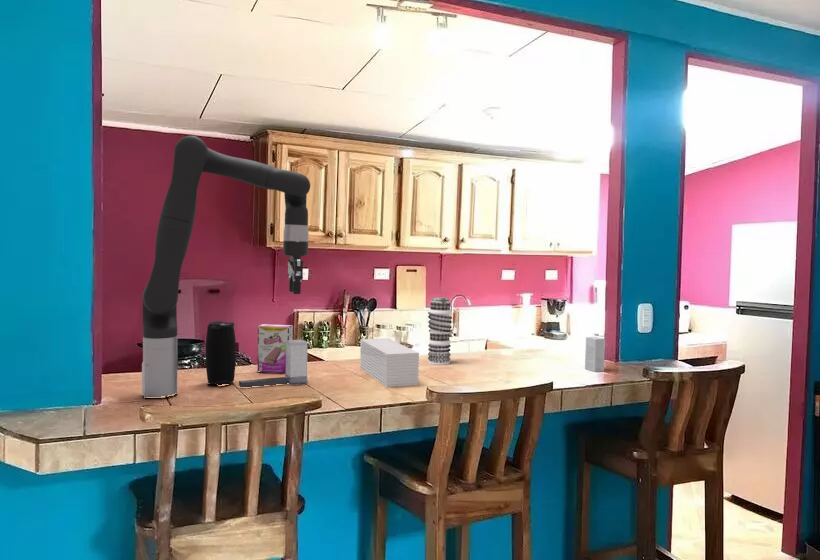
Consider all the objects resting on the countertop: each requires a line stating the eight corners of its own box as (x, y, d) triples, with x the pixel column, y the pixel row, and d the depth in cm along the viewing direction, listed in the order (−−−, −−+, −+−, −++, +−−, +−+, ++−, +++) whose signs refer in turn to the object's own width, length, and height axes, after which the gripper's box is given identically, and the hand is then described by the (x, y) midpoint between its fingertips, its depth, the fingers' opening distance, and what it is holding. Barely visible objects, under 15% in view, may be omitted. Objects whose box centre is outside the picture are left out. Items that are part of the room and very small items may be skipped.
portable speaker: (240, 382, 203) (241, 321, 202) (223, 388, 194) (223, 324, 193) (217, 379, 206) (218, 319, 205) (199, 385, 197) (199, 323, 196)
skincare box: (604, 371, 232) (605, 338, 232) (594, 372, 231) (595, 339, 230) (593, 368, 238) (594, 336, 237) (584, 368, 236) (585, 336, 236)
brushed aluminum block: (290, 377, 200) (290, 342, 199) (285, 374, 205) (286, 340, 204) (307, 376, 202) (307, 342, 202) (302, 373, 207) (302, 339, 207)
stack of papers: (360, 368, 230) (360, 339, 230) (388, 367, 234) (388, 338, 233) (386, 388, 200) (387, 354, 199) (418, 386, 204) (418, 352, 203)
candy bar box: (256, 373, 218) (257, 325, 217) (261, 370, 223) (262, 323, 222) (288, 374, 217) (289, 326, 216) (292, 371, 222) (293, 324, 221)
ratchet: (243, 390, 192) (243, 369, 192) (237, 385, 198) (237, 365, 198) (310, 384, 203) (310, 363, 202) (302, 379, 209) (303, 360, 208)
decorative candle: (423, 361, 246) (425, 296, 245) (446, 360, 249) (447, 296, 248) (431, 365, 238) (432, 298, 236) (454, 364, 240) (456, 298, 239)
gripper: (280, 239, 200) (279, 291, 201) (286, 239, 186) (285, 294, 187) (304, 240, 202) (303, 291, 203) (312, 240, 189) (310, 294, 190)
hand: (294, 292), depth 195 cm, fingers open, 8 cm apart
